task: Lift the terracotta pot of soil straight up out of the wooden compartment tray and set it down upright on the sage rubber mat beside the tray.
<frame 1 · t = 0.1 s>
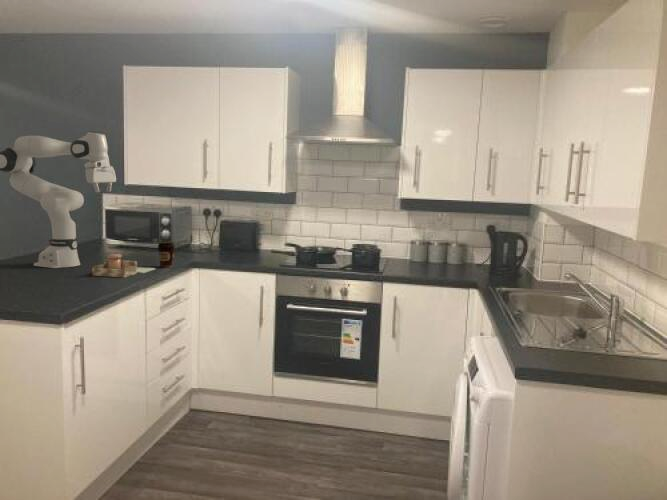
hand: (103, 191, 290), 39 cm above the worktop, tool pointing down, fingers open, 8 cm apart
mat: (138, 270, 291), on the worktop
pot: (114, 274, 279), resting in wooden compartment tray
dark brown jar: (166, 267, 303), on the worktop
wooden compartment tray: (114, 274, 279), on the worktop
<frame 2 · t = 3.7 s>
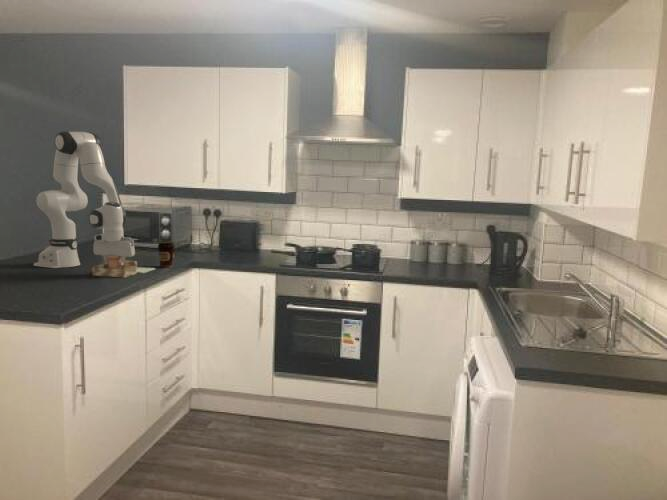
hand: (114, 264, 278), 5 cm above the worktop, tool pointing down, fingers closed on pot, 5 cm apart
pot: (114, 274, 279), resting in wooden compartment tray, touching gripper
everything else where it was.
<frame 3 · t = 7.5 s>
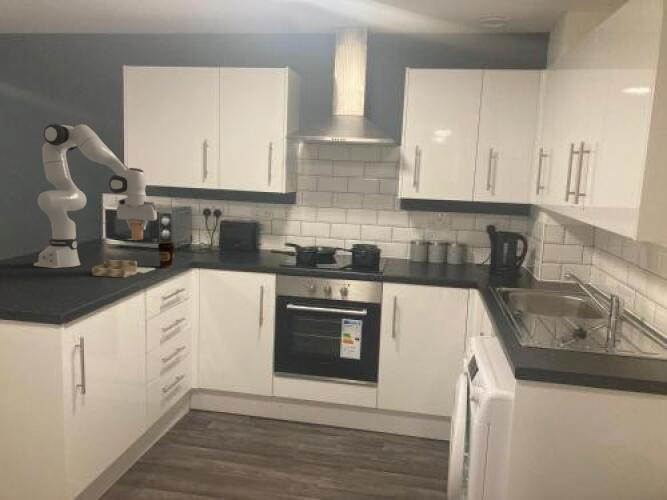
hand: (137, 228, 288), 21 cm above the worktop, tool pointing down, fingers closed on pot, 5 cm apart
pot: (137, 238, 288), point 16 cm above the worktop, touching gripper
everything else where it was.
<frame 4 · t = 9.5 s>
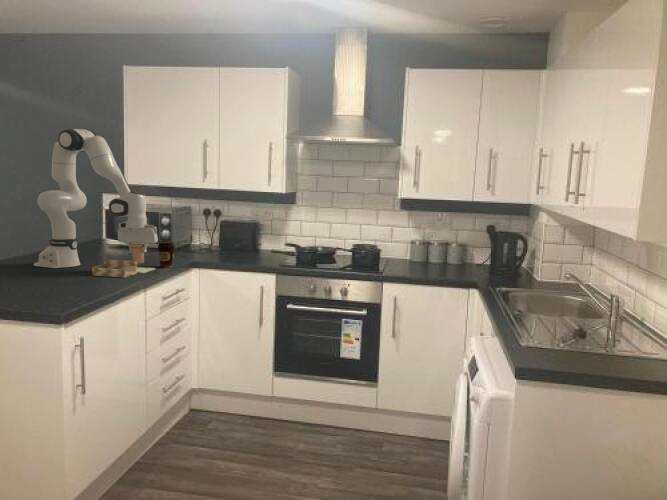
hand: (138, 251, 289), 10 cm above the worktop, tool pointing down, fingers closed on pot, 5 cm apart
pot: (138, 262, 290), point 4 cm above the worktop, touching gripper
everything else where it was.
when the fingers open (7 cm above the worktop, at t = 11.1 s): pot stays where it is, resting on mat.
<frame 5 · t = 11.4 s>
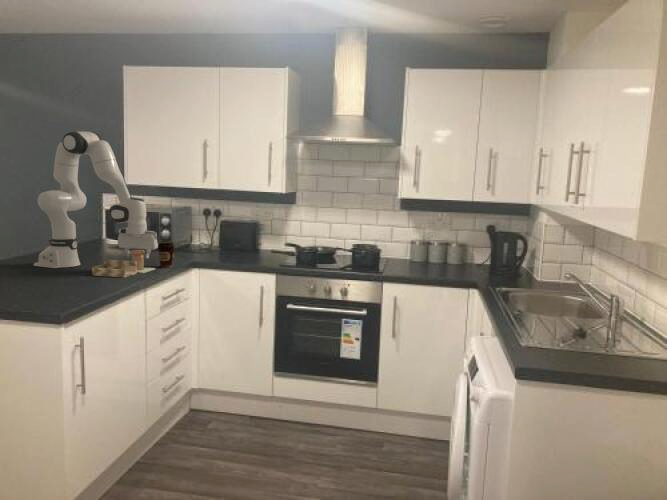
hand: (138, 257, 290), 7 cm above the worktop, tool pointing down, fingers open, 8 cm apart
pot: (138, 269, 291), point 1 cm above the worktop, touching mat
everything else where it was.
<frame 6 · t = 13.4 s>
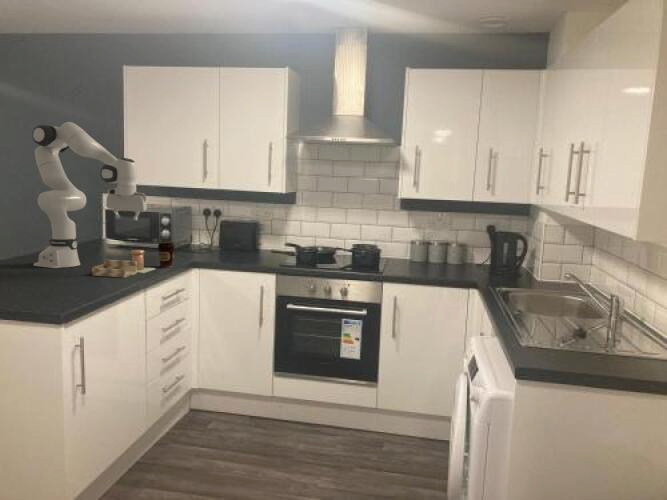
hand: (126, 219, 287), 26 cm above the worktop, tool pointing down, fingers open, 8 cm apart
nothing on the worktop moved.
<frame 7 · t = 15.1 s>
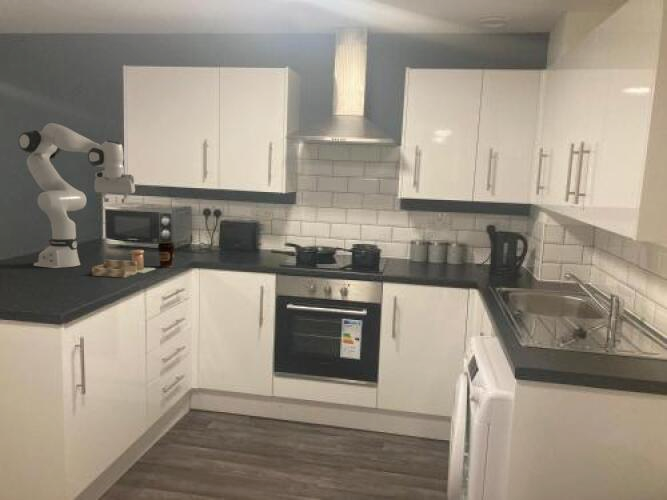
hand: (115, 202, 285), 34 cm above the worktop, tool pointing down, fingers open, 8 cm apart
nothing on the worktop moved.
at the end: pot inside the target area on the mat (0.1 cm from its centre), point 0.6 cm above the mat's base; pot tilted 1°; the gripper is holding nothing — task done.
